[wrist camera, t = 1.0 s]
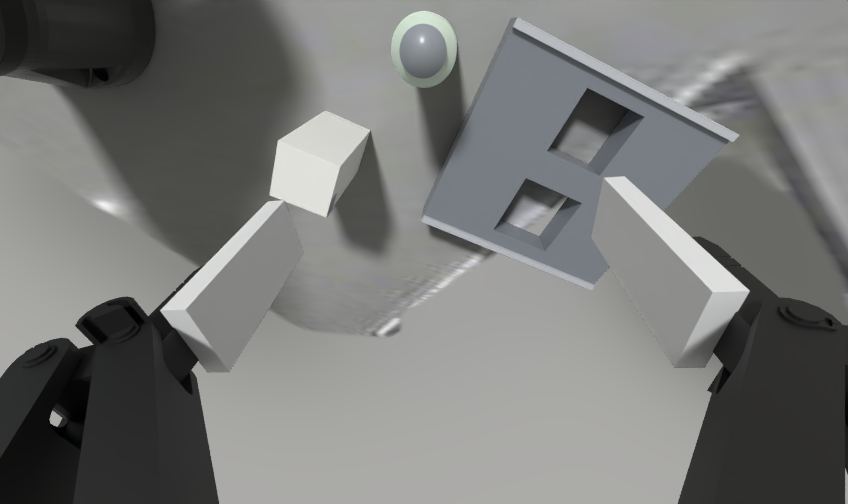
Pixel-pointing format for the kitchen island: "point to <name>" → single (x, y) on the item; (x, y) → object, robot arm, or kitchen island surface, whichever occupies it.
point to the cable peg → (424, 49)
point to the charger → (318, 162)
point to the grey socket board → (560, 152)
